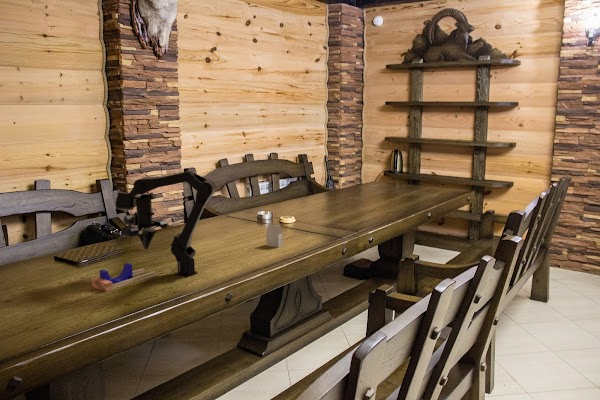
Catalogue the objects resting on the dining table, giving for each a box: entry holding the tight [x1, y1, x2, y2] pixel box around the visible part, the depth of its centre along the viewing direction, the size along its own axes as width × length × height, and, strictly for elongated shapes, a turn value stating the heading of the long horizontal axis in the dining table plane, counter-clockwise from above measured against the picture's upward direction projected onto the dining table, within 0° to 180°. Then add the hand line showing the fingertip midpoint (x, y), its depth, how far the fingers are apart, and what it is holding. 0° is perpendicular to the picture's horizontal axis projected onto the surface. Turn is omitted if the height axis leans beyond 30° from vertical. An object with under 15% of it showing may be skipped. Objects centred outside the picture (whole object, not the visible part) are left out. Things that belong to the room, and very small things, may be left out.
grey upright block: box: [265, 223, 284, 248], centre depth 258 cm, size 4×7×10 cm, turn 61°
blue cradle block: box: [99, 262, 134, 284], centre depth 205 cm, size 12×4×6 cm, turn 143°
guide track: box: [91, 267, 157, 292], centre depth 207 cm, size 9×22×3 cm, turn 144°
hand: (145, 248), depth 216 cm, fingers closed
